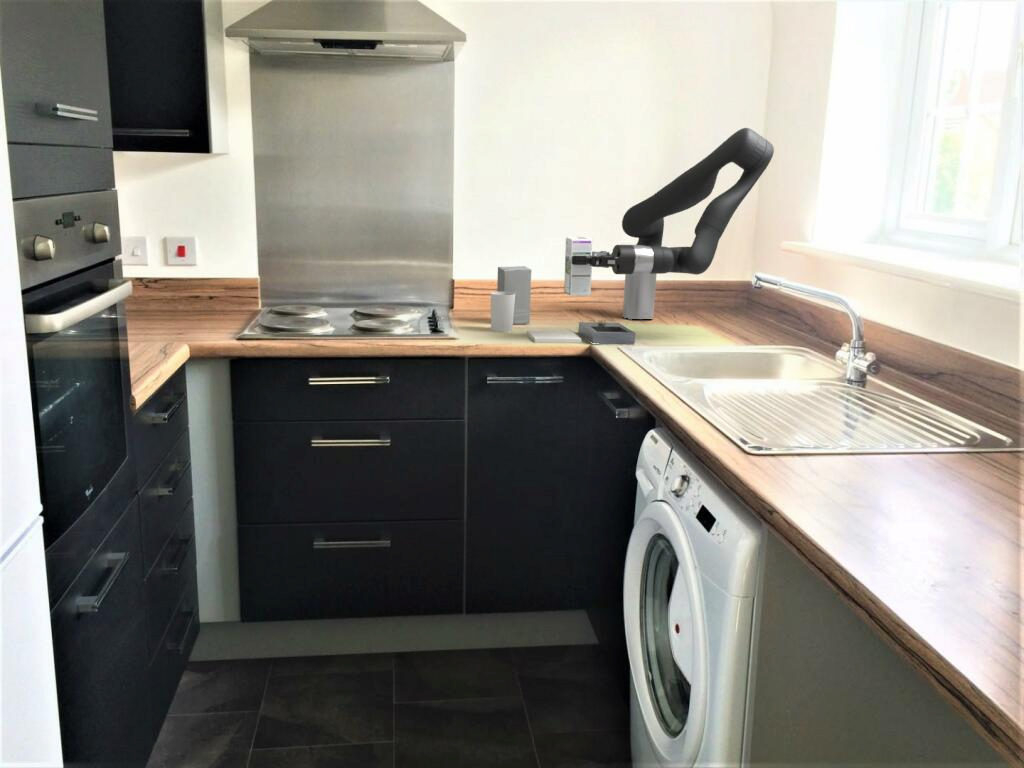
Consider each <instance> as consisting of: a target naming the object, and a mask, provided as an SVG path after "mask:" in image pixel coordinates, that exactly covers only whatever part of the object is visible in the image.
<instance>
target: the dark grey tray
mask: <svg viewBox="0 0 1024 768" xmlns="http://www.w3.org/2000/svg"><path fill="white" fill-rule="evenodd" d="M577 333H578V335H580V336H581V337H583V338H584V339H585V338H586V339H587V341H588V340H589V341H590V342H592V343H599V344H634V343H636V332H635V331H632V330H631V329H629V328H627V327H626V326H624V325H623V324H621V323H620V322H607V321H606V320H603V319H598V320H597V322H595V321H594V322H593V321H592V322H591V321H582V322H581V321H579V322H578V332H577ZM586 339H585V340H586ZM589 341H588V342H589ZM590 342H589V343H590ZM592 343H591V344H592Z"/></svg>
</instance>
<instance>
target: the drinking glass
mask: <svg viewBox="0 0 1024 768" xmlns="http://www.w3.org/2000/svg"><path fill="white" fill-rule="evenodd" d="M514 303H515V293H511V292H497V291H491V292H490V330H491V332H494V333H511V332H513V328H514V327H513V326H514V324H513V315H514Z"/></svg>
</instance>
